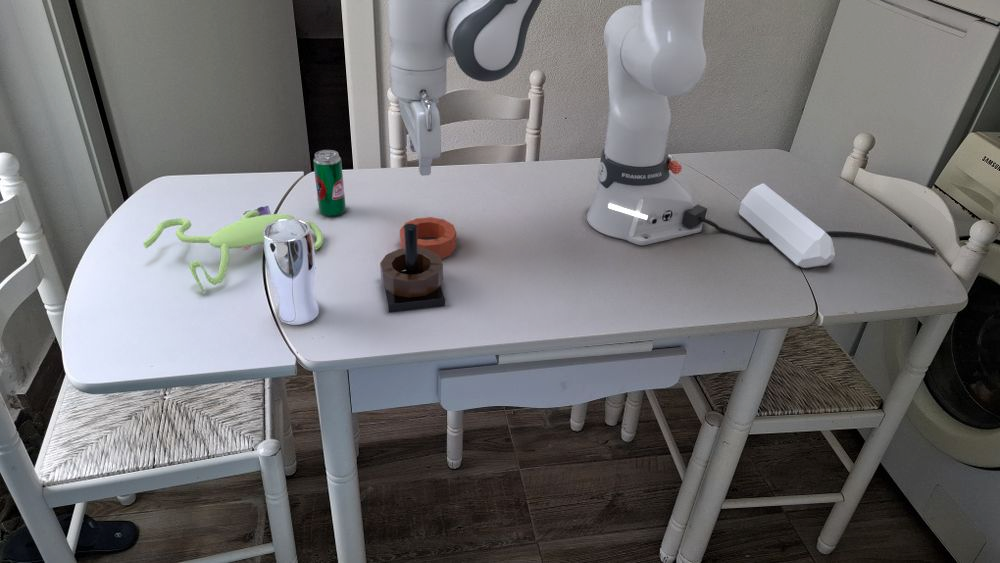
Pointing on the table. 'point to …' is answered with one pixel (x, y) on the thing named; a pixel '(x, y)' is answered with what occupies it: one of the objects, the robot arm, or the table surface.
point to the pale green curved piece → (229, 237)
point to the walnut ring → (411, 283)
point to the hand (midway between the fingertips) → (420, 161)
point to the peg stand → (411, 265)
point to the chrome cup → (292, 269)
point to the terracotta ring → (433, 235)
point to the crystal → (787, 228)
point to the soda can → (329, 183)
